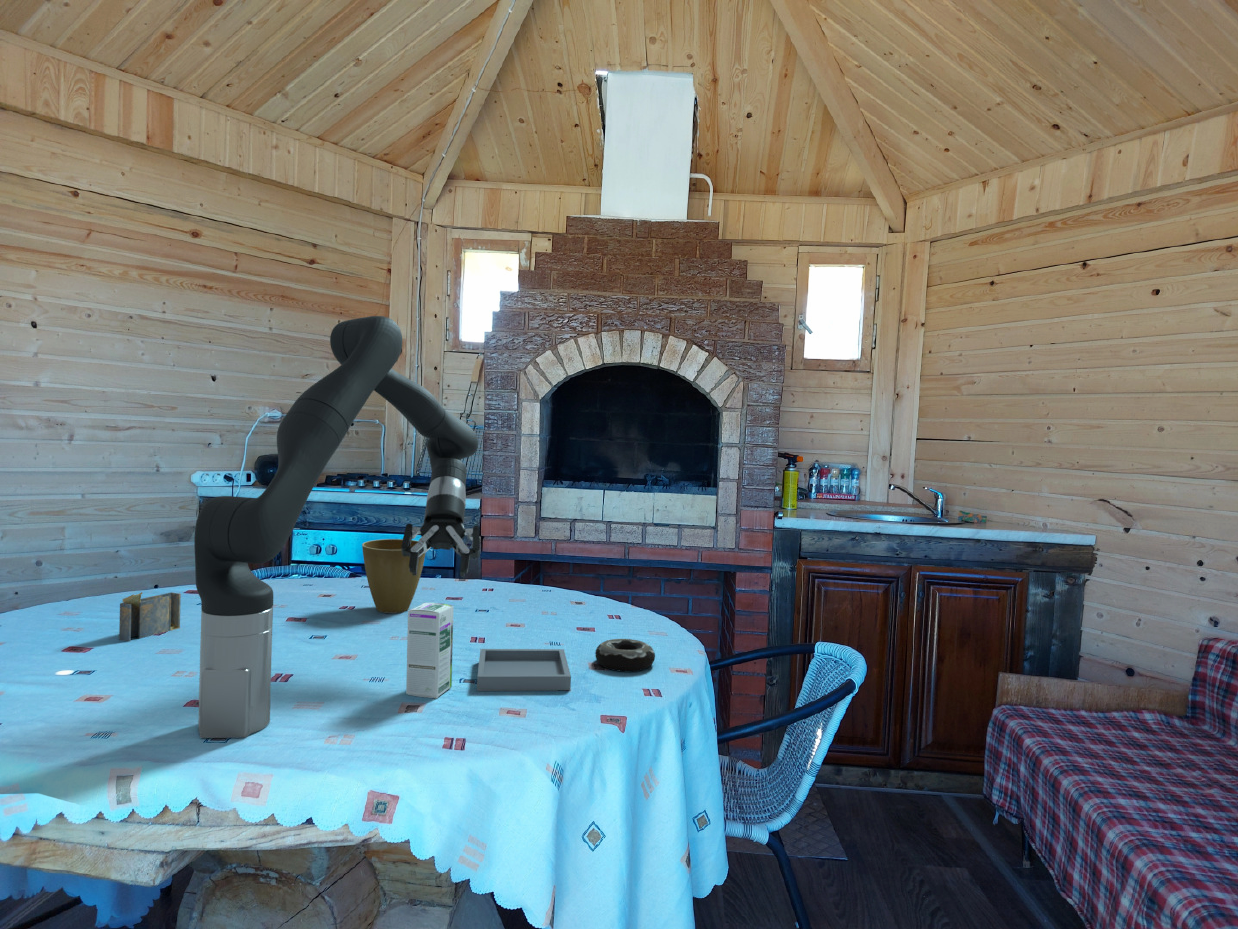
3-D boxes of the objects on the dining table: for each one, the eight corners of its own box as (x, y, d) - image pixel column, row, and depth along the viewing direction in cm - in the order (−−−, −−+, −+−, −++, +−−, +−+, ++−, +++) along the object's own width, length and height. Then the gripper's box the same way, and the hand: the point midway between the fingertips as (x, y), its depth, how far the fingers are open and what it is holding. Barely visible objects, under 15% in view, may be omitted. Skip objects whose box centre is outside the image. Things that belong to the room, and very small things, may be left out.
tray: (570, 690, 129) (570, 676, 129) (476, 691, 127) (477, 676, 127) (563, 661, 145) (563, 649, 145) (479, 661, 143) (480, 648, 142)
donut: (640, 654, 153) (641, 635, 153) (664, 672, 142) (665, 651, 142) (586, 657, 149) (587, 638, 149) (607, 676, 138) (608, 655, 138)
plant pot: (348, 607, 179) (351, 541, 178) (405, 600, 189) (407, 537, 188) (377, 620, 168) (380, 550, 167) (436, 612, 179) (438, 545, 178)
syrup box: (437, 699, 122) (440, 612, 121) (404, 695, 123) (407, 608, 123) (452, 688, 128) (455, 604, 127) (420, 684, 129) (423, 601, 128)
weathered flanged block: (130, 644, 144) (131, 594, 144) (119, 642, 145) (120, 592, 145) (181, 630, 155) (182, 584, 155) (170, 628, 156) (171, 582, 155)
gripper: (407, 491, 143) (396, 561, 132) (482, 493, 145) (478, 562, 134) (409, 515, 148) (399, 584, 137) (482, 517, 150) (477, 585, 140)
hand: (438, 573), depth 136 cm, fingers open, 8 cm apart
